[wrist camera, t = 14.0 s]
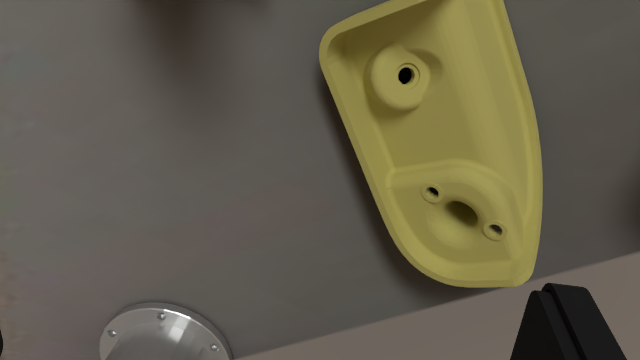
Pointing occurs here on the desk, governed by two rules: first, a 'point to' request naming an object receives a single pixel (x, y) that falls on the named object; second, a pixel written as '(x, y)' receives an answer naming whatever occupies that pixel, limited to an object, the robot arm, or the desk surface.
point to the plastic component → (443, 134)
